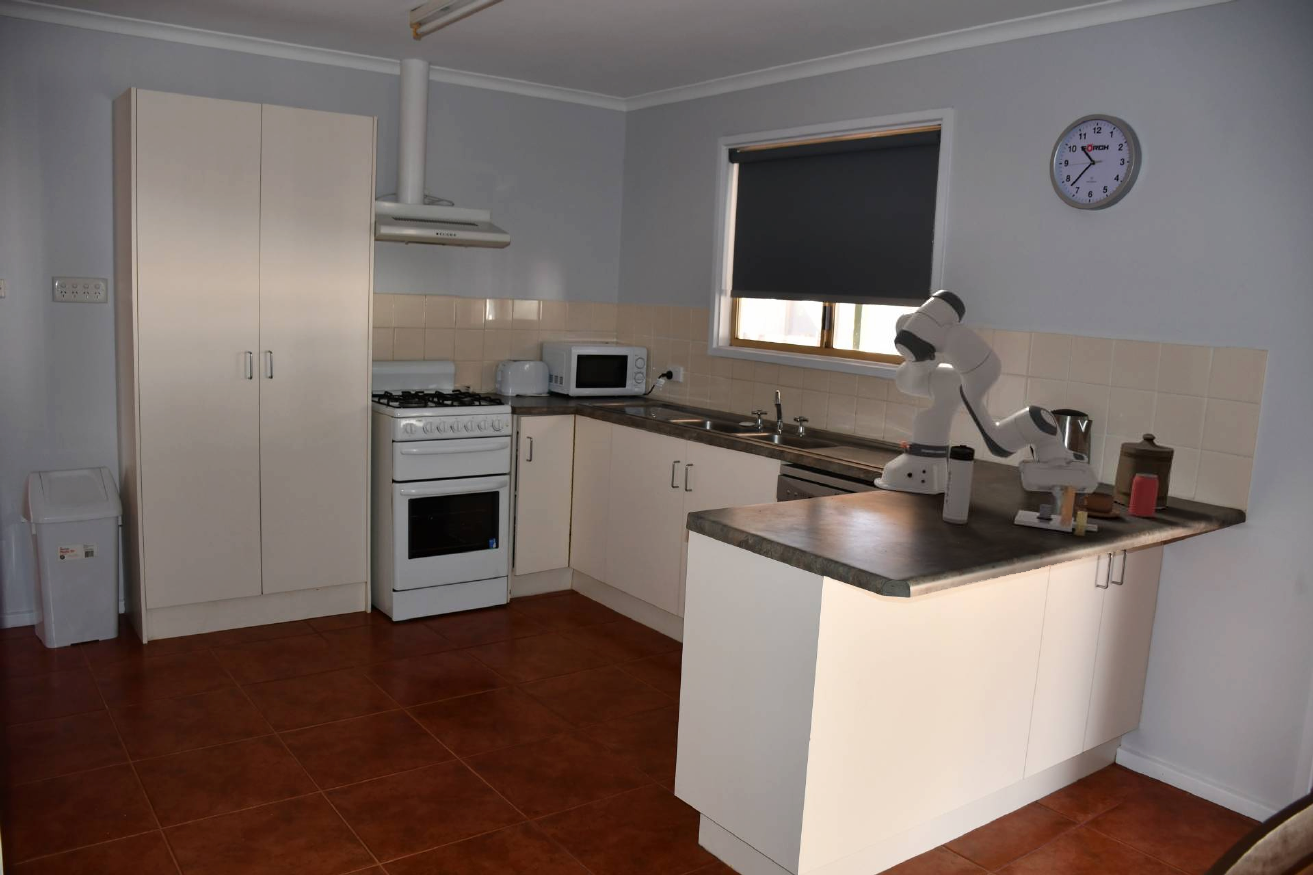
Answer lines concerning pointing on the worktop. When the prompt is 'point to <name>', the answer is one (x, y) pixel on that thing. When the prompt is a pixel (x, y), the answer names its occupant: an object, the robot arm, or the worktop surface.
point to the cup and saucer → (1098, 505)
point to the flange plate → (1054, 516)
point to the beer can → (1144, 495)
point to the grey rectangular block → (1045, 512)
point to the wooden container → (1143, 468)
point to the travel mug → (958, 484)
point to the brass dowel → (1081, 523)
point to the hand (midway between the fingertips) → (1066, 503)
